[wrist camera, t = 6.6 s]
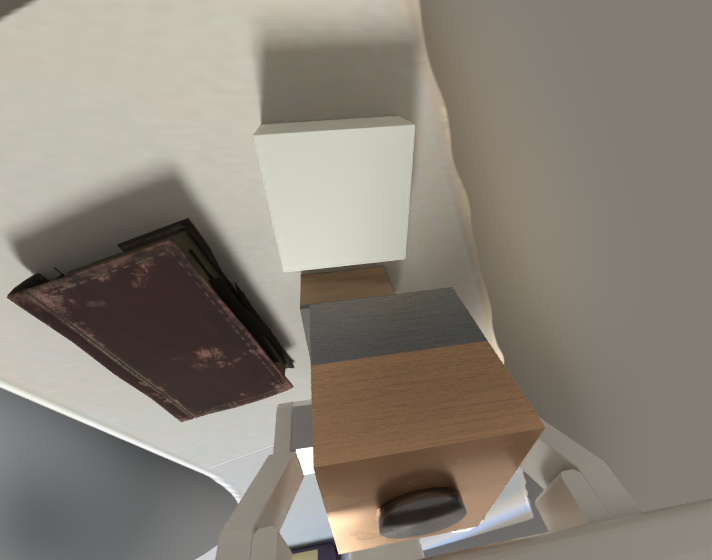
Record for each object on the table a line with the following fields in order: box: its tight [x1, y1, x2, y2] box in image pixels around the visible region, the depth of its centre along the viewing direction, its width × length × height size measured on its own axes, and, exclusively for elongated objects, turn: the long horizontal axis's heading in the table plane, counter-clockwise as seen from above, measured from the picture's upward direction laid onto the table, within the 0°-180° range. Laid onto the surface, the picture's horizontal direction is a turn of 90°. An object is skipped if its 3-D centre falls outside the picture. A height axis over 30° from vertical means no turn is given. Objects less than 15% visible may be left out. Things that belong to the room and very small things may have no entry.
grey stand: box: [253, 116, 415, 272], centre depth 27 cm, size 12×12×5 cm
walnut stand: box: [300, 266, 395, 360], centre depth 35 cm, size 8×10×6 cm
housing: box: [309, 288, 545, 554], centre depth 10 cm, size 5×7×5 cm
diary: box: [7, 218, 294, 422], centre depth 35 cm, size 19×25×5 cm
